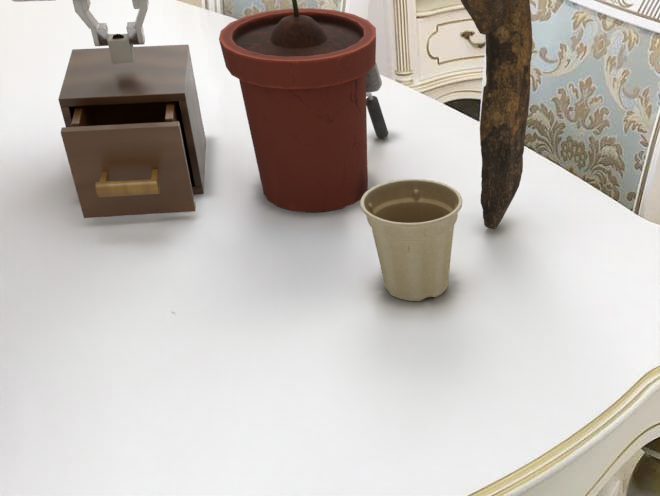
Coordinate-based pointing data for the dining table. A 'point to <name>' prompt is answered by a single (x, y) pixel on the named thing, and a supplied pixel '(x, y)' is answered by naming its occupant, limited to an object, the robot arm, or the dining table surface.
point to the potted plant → (307, 102)
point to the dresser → (139, 90)
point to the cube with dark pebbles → (120, 49)
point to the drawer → (129, 159)
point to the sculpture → (503, 99)
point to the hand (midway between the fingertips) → (120, 43)
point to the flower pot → (413, 234)
